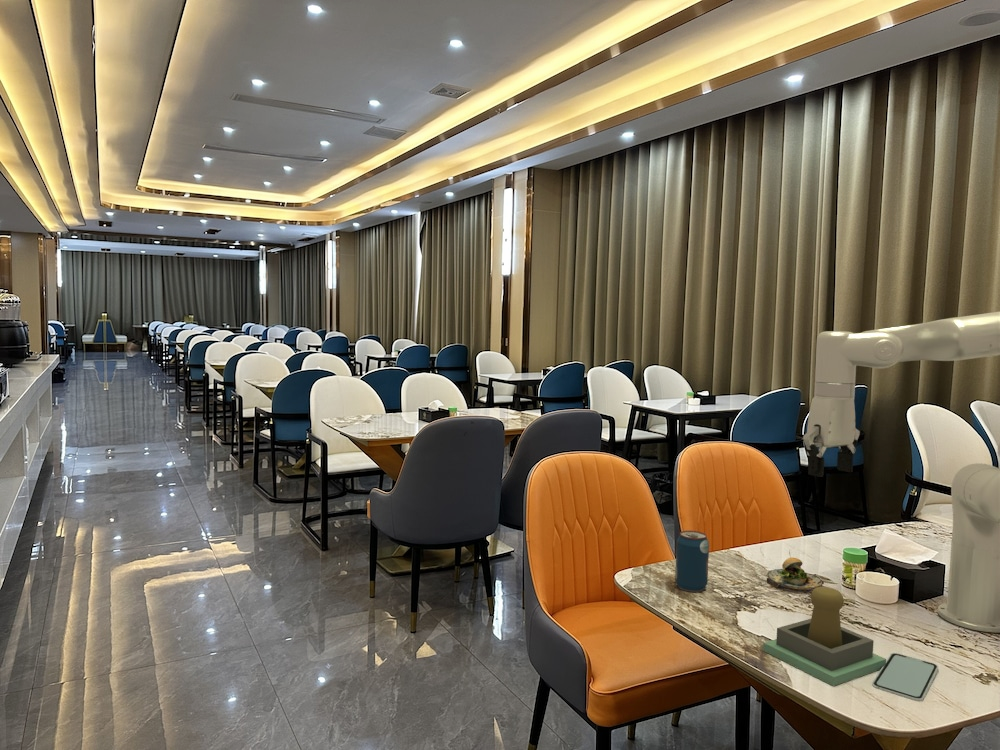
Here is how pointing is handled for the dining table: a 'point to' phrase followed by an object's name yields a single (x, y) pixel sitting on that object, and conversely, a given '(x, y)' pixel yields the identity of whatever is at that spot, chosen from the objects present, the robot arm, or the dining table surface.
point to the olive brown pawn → (826, 617)
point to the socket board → (825, 654)
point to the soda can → (692, 561)
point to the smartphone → (906, 676)
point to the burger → (793, 576)
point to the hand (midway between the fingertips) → (830, 473)
